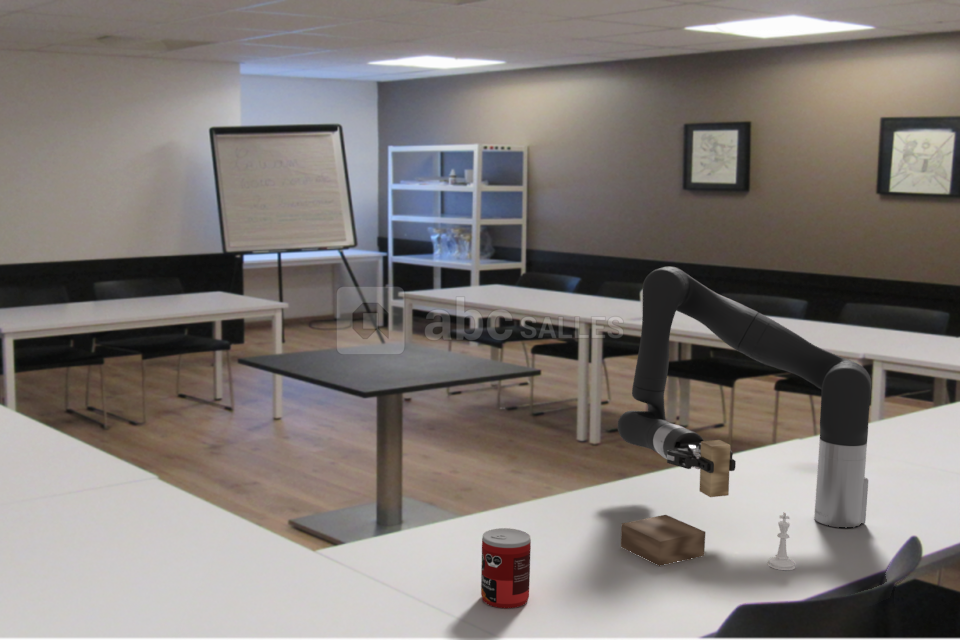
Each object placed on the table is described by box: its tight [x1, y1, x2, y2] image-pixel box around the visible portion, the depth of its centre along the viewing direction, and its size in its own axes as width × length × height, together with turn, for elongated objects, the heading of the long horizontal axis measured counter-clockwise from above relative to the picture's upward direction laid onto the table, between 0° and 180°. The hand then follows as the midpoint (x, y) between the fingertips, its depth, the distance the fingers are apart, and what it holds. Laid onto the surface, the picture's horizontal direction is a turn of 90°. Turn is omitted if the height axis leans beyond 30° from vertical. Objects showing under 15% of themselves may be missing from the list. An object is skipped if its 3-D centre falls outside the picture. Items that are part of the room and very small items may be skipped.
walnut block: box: [620, 514, 706, 567], centre depth 187 cm, size 11×11×5 cm
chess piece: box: [767, 511, 796, 571], centre depth 181 cm, size 5×5×10 cm
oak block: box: [699, 439, 731, 498], centre depth 192 cm, size 4×4×10 cm
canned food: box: [480, 527, 532, 609], centre depth 163 cm, size 8×8×11 cm
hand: (722, 466), depth 189 cm, fingers closed on oak block, 4 cm apart
